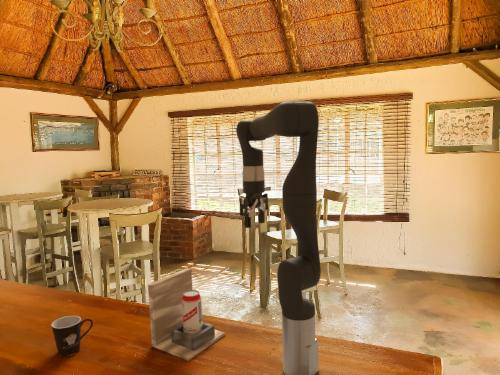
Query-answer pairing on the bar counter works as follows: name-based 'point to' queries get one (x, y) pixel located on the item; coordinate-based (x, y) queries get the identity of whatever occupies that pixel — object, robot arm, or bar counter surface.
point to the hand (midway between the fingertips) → (255, 225)
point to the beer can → (192, 312)
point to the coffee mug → (68, 334)
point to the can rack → (176, 318)
